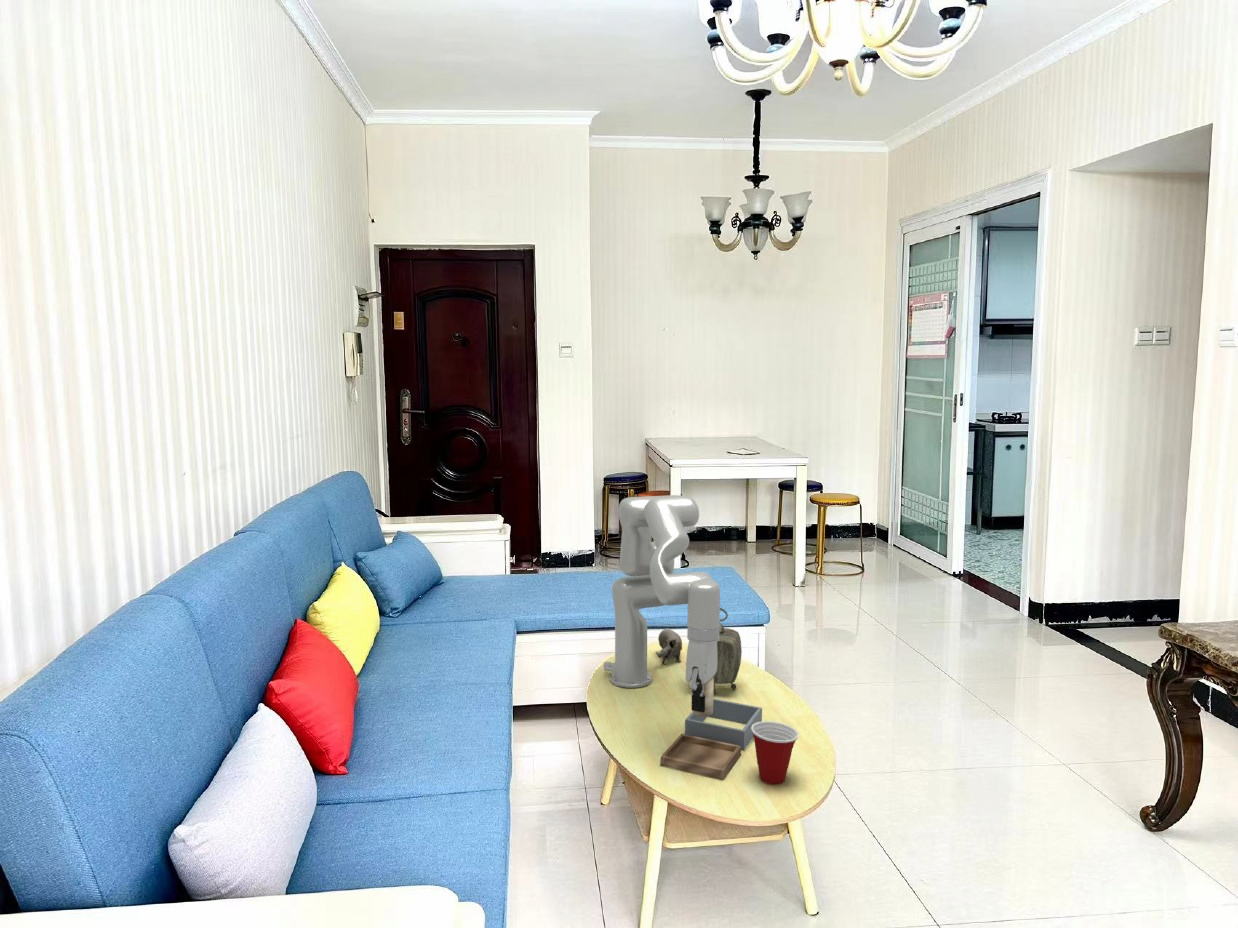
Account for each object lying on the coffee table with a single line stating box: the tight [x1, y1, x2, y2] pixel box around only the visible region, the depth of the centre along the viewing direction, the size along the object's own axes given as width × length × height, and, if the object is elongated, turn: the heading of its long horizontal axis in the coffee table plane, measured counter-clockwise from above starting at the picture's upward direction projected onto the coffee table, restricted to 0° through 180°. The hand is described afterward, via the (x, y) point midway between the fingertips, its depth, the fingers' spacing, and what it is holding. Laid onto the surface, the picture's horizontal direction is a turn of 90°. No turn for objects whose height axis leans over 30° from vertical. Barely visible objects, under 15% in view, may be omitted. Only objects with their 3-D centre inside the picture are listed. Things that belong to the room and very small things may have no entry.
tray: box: [659, 733, 742, 781], centre depth 205 cm, size 16×14×2 cm
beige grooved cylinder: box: [691, 678, 715, 716], centre depth 203 cm, size 5×5×8 cm
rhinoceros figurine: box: [655, 628, 683, 666], centre depth 271 cm, size 8×14×15 cm
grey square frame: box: [684, 698, 763, 752], centre depth 220 cm, size 16×16×5 cm
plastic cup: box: [751, 720, 800, 786], centre depth 196 cm, size 11×11×12 cm
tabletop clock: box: [713, 607, 742, 695], centre depth 245 cm, size 14×9×25 cm, turn 76°
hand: (702, 705), depth 203 cm, fingers closed on beige grooved cylinder, 5 cm apart
